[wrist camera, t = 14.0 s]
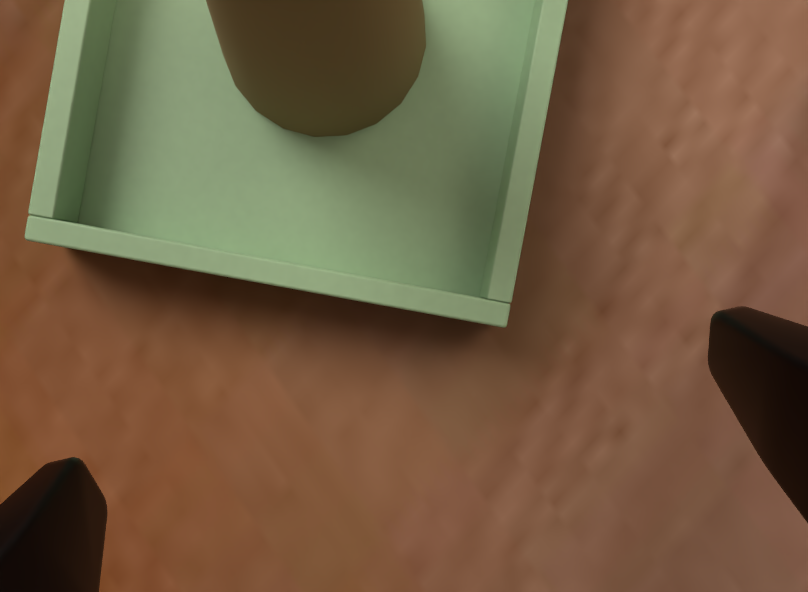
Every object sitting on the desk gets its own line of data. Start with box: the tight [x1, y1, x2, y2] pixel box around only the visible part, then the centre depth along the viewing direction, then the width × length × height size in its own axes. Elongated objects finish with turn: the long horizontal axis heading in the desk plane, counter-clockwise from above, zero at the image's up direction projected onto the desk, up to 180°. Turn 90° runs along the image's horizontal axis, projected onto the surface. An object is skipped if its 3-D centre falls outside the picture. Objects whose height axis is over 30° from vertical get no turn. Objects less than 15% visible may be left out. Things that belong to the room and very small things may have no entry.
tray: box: [25, 0, 568, 328], centre depth 19 cm, size 15×13×2 cm
